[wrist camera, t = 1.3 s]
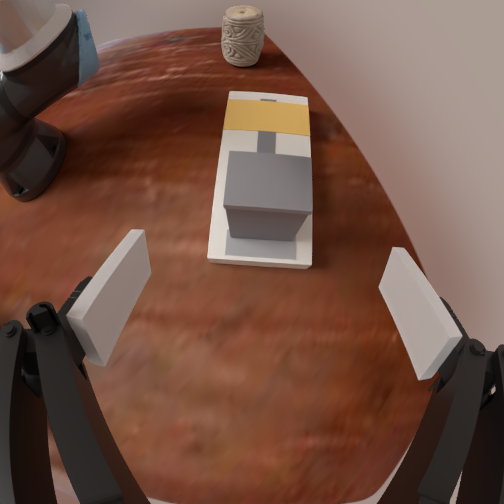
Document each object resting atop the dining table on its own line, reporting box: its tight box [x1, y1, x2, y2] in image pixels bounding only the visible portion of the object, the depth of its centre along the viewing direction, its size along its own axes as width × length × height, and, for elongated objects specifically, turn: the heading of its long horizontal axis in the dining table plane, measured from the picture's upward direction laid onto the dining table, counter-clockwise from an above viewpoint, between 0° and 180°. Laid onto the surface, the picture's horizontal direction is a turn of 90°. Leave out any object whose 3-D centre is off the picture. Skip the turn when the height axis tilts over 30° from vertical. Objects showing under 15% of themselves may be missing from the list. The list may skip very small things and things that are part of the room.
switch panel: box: [207, 91, 312, 269], centre depth 36 cm, size 26×12×3 cm, turn 176°
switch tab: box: [223, 151, 313, 242], centre depth 27 cm, size 5×7×10 cm
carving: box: [222, 6, 264, 67], centre depth 37 cm, size 6×8×12 cm
